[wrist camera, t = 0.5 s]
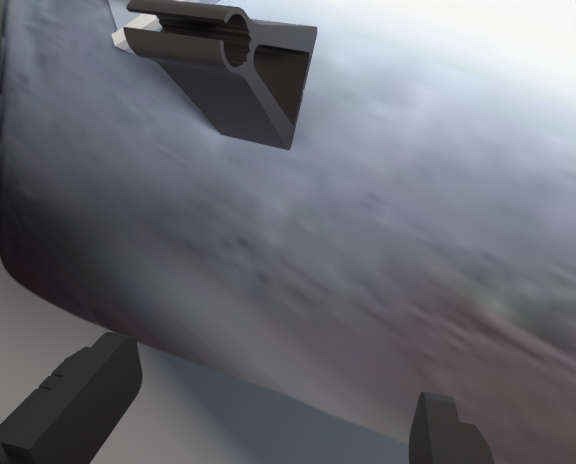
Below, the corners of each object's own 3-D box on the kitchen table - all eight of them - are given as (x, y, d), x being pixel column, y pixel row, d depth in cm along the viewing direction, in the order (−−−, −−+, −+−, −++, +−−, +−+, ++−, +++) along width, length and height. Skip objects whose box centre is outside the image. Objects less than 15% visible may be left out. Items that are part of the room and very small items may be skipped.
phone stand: (247, 20, 30) (137, -80, 19) (318, 29, 28) (242, -76, 17) (224, 135, 32) (111, 105, 21) (290, 150, 30) (204, 127, 19)
